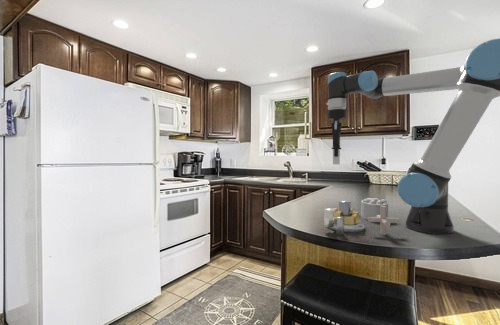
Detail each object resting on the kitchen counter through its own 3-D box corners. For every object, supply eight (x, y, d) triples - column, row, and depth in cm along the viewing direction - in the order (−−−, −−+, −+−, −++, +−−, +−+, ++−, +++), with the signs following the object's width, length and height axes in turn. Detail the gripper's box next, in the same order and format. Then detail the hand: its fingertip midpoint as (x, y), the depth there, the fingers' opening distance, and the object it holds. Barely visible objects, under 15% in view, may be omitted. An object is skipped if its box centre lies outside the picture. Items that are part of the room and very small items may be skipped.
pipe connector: (403, 239, 85) (404, 209, 85) (371, 237, 87) (371, 208, 87) (393, 231, 95) (393, 204, 95) (364, 229, 97) (364, 203, 97)
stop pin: (343, 233, 92) (343, 216, 92) (343, 235, 90) (343, 218, 89) (336, 232, 93) (336, 216, 93) (336, 234, 90) (336, 217, 90)
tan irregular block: (339, 216, 108) (339, 202, 108) (364, 221, 100) (364, 206, 100) (313, 223, 96) (314, 207, 96) (340, 229, 88) (340, 212, 88)
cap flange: (363, 224, 105) (363, 200, 104) (364, 233, 92) (364, 205, 91) (327, 221, 110) (328, 197, 110) (324, 229, 97) (324, 203, 97)
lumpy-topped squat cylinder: (382, 215, 121) (382, 197, 121) (392, 222, 108) (392, 202, 108) (359, 214, 123) (359, 196, 123) (366, 221, 110) (366, 201, 110)
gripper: (329, 112, 118) (328, 163, 119) (326, 107, 106) (325, 164, 107) (346, 111, 115) (346, 164, 116) (345, 106, 103) (344, 164, 104)
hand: (336, 164), depth 111 cm, fingers closed
